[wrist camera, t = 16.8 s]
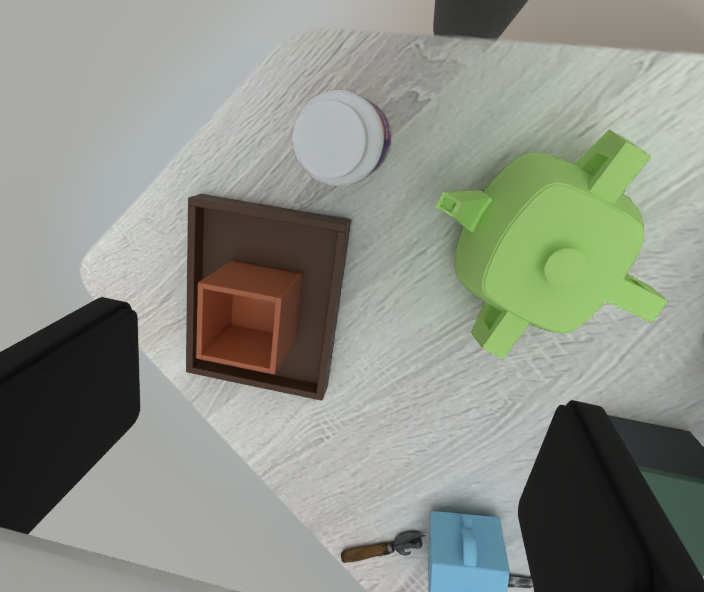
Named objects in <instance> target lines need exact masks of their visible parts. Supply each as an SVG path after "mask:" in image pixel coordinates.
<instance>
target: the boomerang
mask: <svg viewBox="0 0 704 592" xmlns="http://www.w3.org/2000/svg"><path fill="white" fill-rule="evenodd" d="M508 587H519V588H531V587H533V583H532V579H528V578H521V577H511V576H509V581H508Z"/></svg>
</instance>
